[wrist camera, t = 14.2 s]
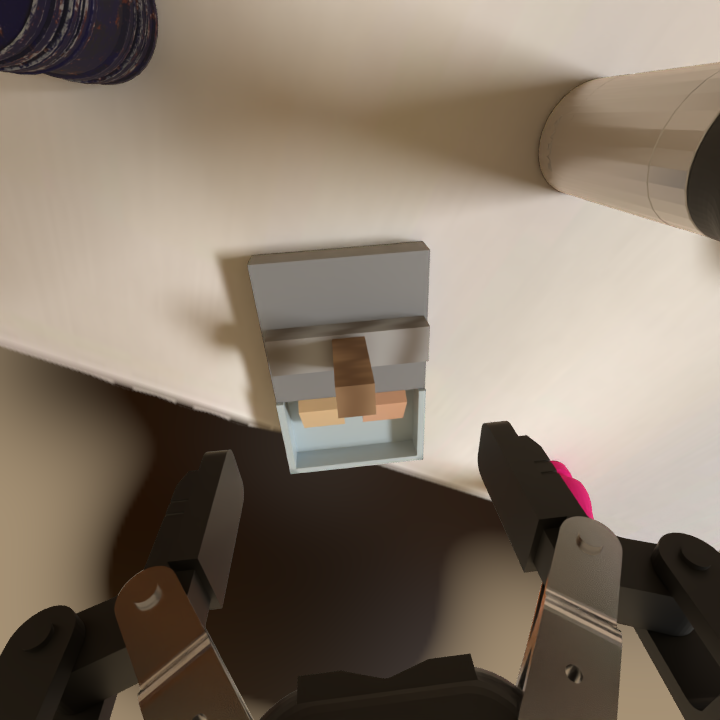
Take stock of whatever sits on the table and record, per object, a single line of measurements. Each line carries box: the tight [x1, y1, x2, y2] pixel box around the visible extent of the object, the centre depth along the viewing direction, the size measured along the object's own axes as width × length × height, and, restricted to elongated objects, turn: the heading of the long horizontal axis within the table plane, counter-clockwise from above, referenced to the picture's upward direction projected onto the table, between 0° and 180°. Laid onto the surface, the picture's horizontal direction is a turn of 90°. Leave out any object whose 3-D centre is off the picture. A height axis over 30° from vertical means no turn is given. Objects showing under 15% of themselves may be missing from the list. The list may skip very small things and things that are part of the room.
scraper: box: [265, 316, 430, 418], centre depth 37 cm, size 16×4×10 cm, turn 93°
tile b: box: [298, 397, 345, 428], centre depth 47 cm, size 5×5×2 cm
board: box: [247, 241, 430, 403], centre depth 42 cm, size 17×16×3 cm
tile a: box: [362, 390, 407, 422], centre depth 47 cm, size 5×5×2 cm
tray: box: [276, 388, 426, 474], centre depth 49 cm, size 17×11×4 cm, turn 93°
